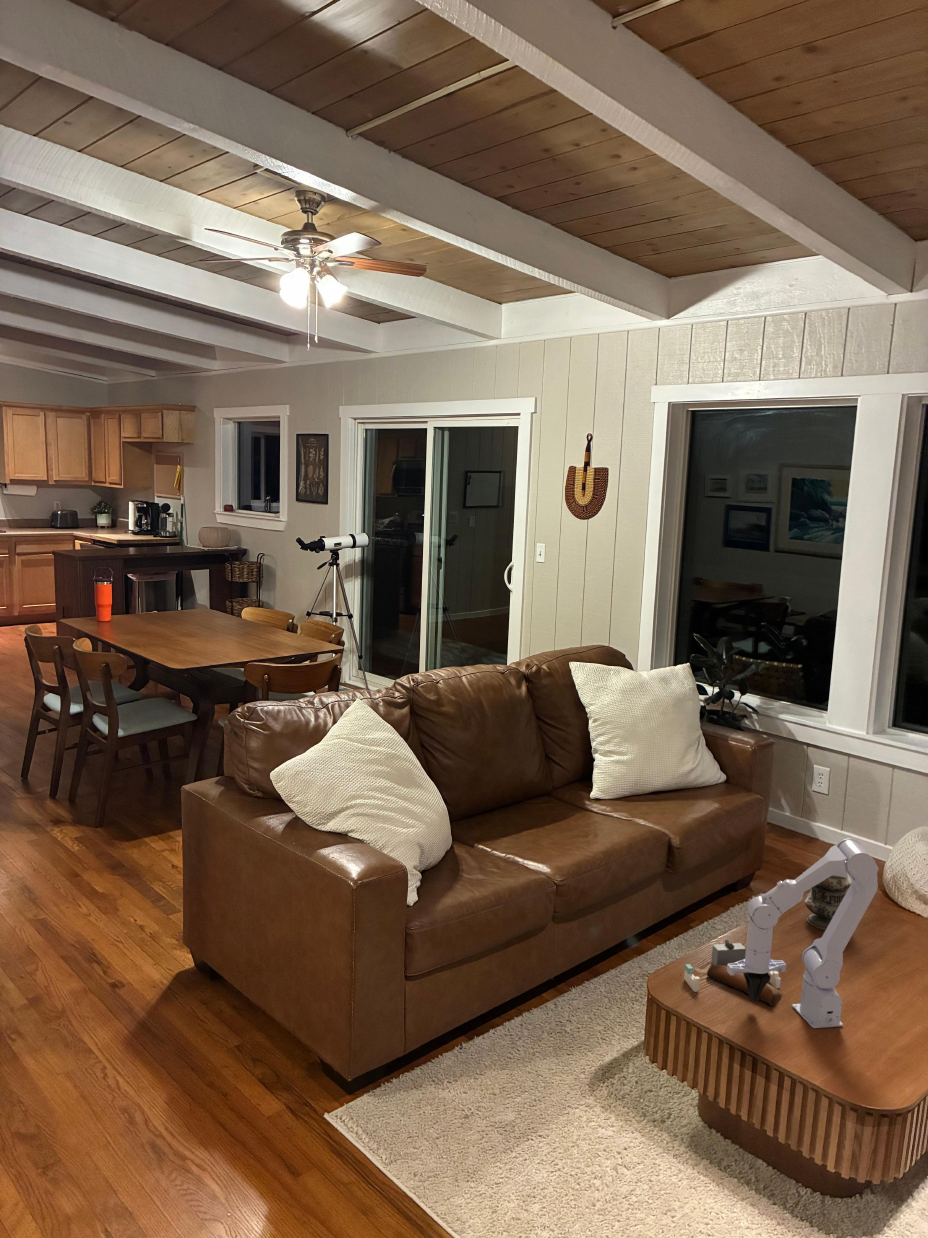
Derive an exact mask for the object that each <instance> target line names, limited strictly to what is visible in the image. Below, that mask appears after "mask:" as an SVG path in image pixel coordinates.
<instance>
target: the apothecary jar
mask: <svg viewBox="0 0 928 1238" xmlns="http://www.w3.org/2000/svg"><path fill="white" fill-rule="evenodd" d="M847 875H848V873H847ZM851 883H852V882H851V879H850V877H849V875H848V878H845V877H840V876H835V875H832V876H830V877H829V878H827V879H825V880H824V881H822V882H820V883H819V884H817V885H815V886H814V887H812V888H810V892H809V893H808V894H807V895H806V896H805V899H804V904H805V906H806V908H807V909H808V910H809V912H811V914H809V915H807V917H806V921H807V923H808V924H809V925H810V926H813V927H815V928H817V929H820V930H824V931H826V929H827V927H828V925H829V924H830V922H831V920H832V918H833V916H834V914H835V913H836V911H837V909H838V907H839V905H840V904H841V902H842V900H843V898H844V896H845V894H846V893H847V890H848V889H849V887H850V885H851Z"/></svg>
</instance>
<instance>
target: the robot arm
mask: <svg viewBox="0 0 928 1238" xmlns="http://www.w3.org/2000/svg"><path fill="white" fill-rule="evenodd" d="M878 871H879V866H878V864H877V863H876V861H875V859H874V858H873V857H872V855H870V854H869V853H868V851H867V850H865V848H864V847H863V846H862V845H861V843H860V842H859V841H858V840H857V839H855V838H849V837H848V838H844V839H841V840H840V841H839V842H838V843H837V844H834V845H833V846H831V847H830V848H829V849H828V850H827V851H826V853H825V855H823V857H821V858H820V859H818V861H816V862H815V863H814V864H812V865H811V866H810V867H808V868H807V869H806V870H805V871H804V872H802V874H800V875H799V876H797V877H796V878H795V879H788V878H787V879H785V880H783V881H782V880H779V881H778V882H776V886H774V887H773V888H772V889H770V890H769V891H767V892H766V893H762V894H761V895H760V896H754V897H753V898H752V899H750V900H749V902H748V904H746V910H747V912H748V914H749V917H748V927H747V932H746V933H747V934H746V943H745V944H746V946H745V948H746V953H745V959H744V960H741V961H738V962H735V963H731V964H727V972H728V973H729V974H730V975H734V974H735V973H743V975H744V977H745V980H746V983H747V987H748V993H749V994H748V993H747V994H748V998H749V999H750V1001H752V1002H754V1003H755V1002H758V1001H759V1000H760V999H759V997H760V994H761V992H762V990H763V988H764V987H765V985H766V984H767V983H768V984H769V983H770V982H769V981H770V975H769V974H768V972H771V971H777V972H778V971H780V972H782V973H783V972H784V973H785V972H786V971H787V970H786V969H787V964H786V963H785V961H784V960H782V959H781V960H780V959H779V960H777V959H771V953H772V945H773V944H772V943H773V934H774V932H773V930H774V929H773V928H774V927H775V926H776V925H777V924H778V922H779V918H780V917H781V915H783V914H784V913H785V912H787V911H789V910H790V909H791V908H793V907H794V906H796V905H797V904H799V903H801V901H803V897H804V893H805V892H807V891H809V890H811V888H812V887H814V886H815V885H817V884H819V883H820V882H822V881H824V880H825V879H827V878H829V877H830V876H832V875H835V876H840V877H845V878H848V875H849V877H850V879H851V882H852V883H851V885H850V887H849V888H848V889H847V890H846V894H845V896H844V898H843V900H842V902H841V904H840V905H839V907H838V909H837V911H836V913H835V914H834V916H833V918H832V920H831V922H830V924H829V925H828V927H827V929H826V930H824V932H823V934H822V936H821V937H819V938H816V939H814V940H813V943H812V944H811V945H810V946H808V947H807V948H806V949H804V951H803V952H802V956H801V960H802V964H803V965H804V967H805V971H804V973H803V976H802V983H801V985H802V986H801V987H802V988H801V996H800V1002H799V1003H793V1004H792V1005H791V1006H792V1008H793V1009H795V1011H796V1012H797V1013H798V1015H800V1016H801V1017H802V1018H803V1019H804V1020H805V1021H806V1023H808V1025H809V1026H811V1028H812V1029H822V1028H824V1029H825V1028H834V1027H835V1028H836V1027H842V1026H843V1022H842V1021H841V1016H842V1008H843V1000H842V998H841V996H840V995H839V994H838V991H837V990H836V986H837V985H838V983H839V982H840V980H841V969H842V968H843V966H844V959H843V958H844V955H843V954H844V953H843V952H844V951H845V949H846V947H847V945H848V943H849V942H850V940H851V938H852V937H853V934H854V932H855V931H856V929H857V927H858V926H859V923H861V920H862V918H863V916H864V915H865V913H866V911H867V910H868V908H869V905H870V904H871V902H872V900H873V898H874V897H875V895H876V893H877V891H878V887H879V885H878ZM847 874H848V875H847Z"/></svg>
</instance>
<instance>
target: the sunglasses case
mask: <svg viewBox="0 0 928 1238" xmlns="http://www.w3.org/2000/svg"><path fill="white" fill-rule="evenodd" d="M706 974H707V975H706V977H707V978H710V979H712V980H715V981H719V982H720V983H723V984H726V985H729V986H731V987H733V988H735V989H737V990H740V991H741V992H744V993H746V994H748V995H749V993H748V987H747V983H746V980H745V977H744V975H743V973H735V974H734V975H730V974H729V973H728V972H727V966H721V965H713V964H712V965H711V966H709V968H708V969H707V973H706ZM783 996H785V994H784V993H783V992H782V991H781V990H779V988H775V987H774V986H773V985H772V984H770V983H769V982H768V983H767V984H766V985H765V987H764V988H763V990H762V992H761V994H760V997H759V999H758V1000H761V1001H763V1002H765V1003H767V1004H769V1005H771V1006H772V1007H773V1006H775V1004H776V1003H778V1002H779V1001H780V1000H781V999H782V997H783Z"/></svg>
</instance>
